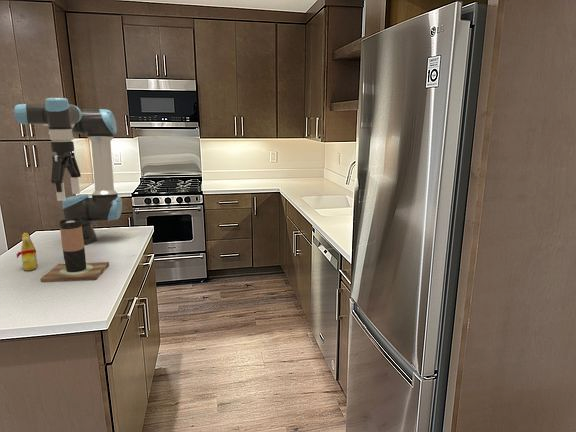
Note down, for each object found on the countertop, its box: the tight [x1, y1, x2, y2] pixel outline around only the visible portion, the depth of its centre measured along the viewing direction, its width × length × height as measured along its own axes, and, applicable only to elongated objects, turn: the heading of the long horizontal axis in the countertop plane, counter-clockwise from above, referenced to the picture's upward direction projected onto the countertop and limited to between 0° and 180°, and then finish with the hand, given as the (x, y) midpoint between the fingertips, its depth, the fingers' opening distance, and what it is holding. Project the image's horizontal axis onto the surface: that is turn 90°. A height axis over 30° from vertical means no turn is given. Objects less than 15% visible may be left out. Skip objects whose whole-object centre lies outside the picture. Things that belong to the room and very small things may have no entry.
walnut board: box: [40, 261, 110, 283], centre depth 163 cm, size 16×20×2 cm
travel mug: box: [58, 218, 87, 272], centre depth 160 cm, size 8×8×20 cm
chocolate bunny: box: [16, 232, 38, 271], centre depth 168 cm, size 7×11×15 cm, turn 29°
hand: (69, 197), depth 157 cm, fingers open, 13 cm apart
